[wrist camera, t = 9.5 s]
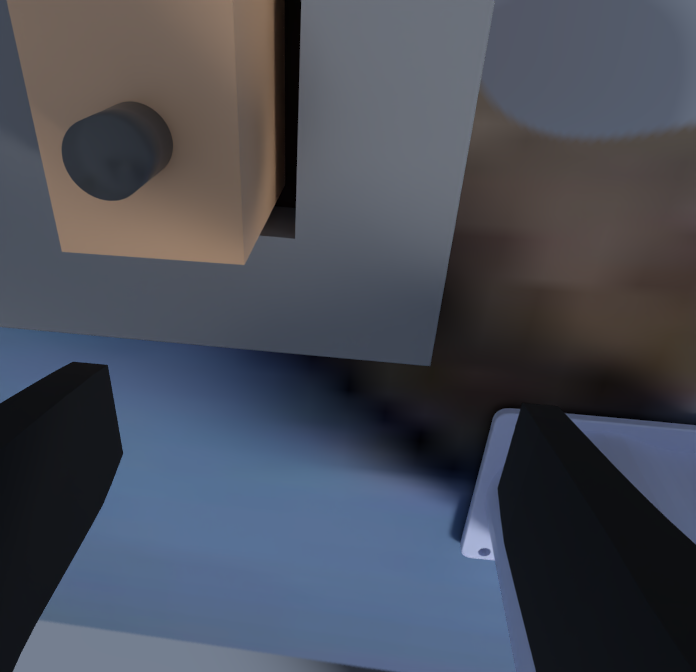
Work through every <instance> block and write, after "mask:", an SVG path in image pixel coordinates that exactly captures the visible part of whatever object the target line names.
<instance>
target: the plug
mask: <svg viewBox="0 0 696 672" xmlns="http://www.w3.org/2000/svg"><path fill="white" fill-rule="evenodd" d="M7 5H8V9H9V14H10V18H11V23H12V27H13V32H14V36H15V41H16V45H17V50H18V54H19V59H20V64H21V68H22V73H23V77H24V82H25V86H26V91H27V95H28V100H29V104H30V109H31V113H32V118H33V123H34V127H35V132H36V136H37V141H38V145H39V150H40V154H41V159H42V163H43V168H44V172H45V177H46V182H47V186H48V191H49V195H50V200H51V204H52V209H53V213H54V218H55V222H56V227H57V231H58V236H59V241H60V245H61V250H62V252H71V253H85V254H99V255H113V256H127V257H141V258H155V259H169V260H183V261H197V262H210V263H224V264H238V265H245V263H246V261H247V259H248V257H249V255H250V253H251V251H252V249H253V247H254V245H255V243H256V241H257V239H258V237H259V235H260V233H261V231H262V229H263V227H264V225H265V223H266V221H267V219H268V217H269V215H270V214H271V212H272V210H273V208H274V206H275V204H276V202H277V200H278V198H279V196H280V194H281V192H282V190H283V188H284V186H285V0H7Z"/></svg>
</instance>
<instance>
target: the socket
mask: <svg viewBox="0 0 696 672" xmlns="http://www.w3.org/2000/svg"><path fill="white" fill-rule="evenodd" d="M494 3H495V0H301V33H300V71H299V109H298V147H297V185H296V208H290V207H279V206H274V208H273V210H272V212H271V214H270V215H269V217H268V219H267V221H266V223H265V225H264V227H263V229H262V231H261V233H260V235H259V237H258V239H257V241H256V243H255V245H254V247H253V249H252V251H251V253H250V255H249V257H248V259H247V261H246V263H245V265H238V264H224V263H210V262H197V261H183V260H169V259H155V258H141V257H127V256H113V255H99V254H85V253H71V252H62V250H61V245H60V241H59V236H58V231H57V227H56V222H55V218H54V213H53V209H52V204H51V200H50V195H49V191H48V186H47V182H46V177H45V172H44V168H43V163H42V159H41V154H40V150H39V145H38V141H37V136H36V132H35V127H34V123H33V118H32V113H31V109H30V104H29V100H28V95H27V91H26V86H25V82H24V77H23V73H22V68H21V64H20V59H19V54H18V50H17V45H16V41H15V36H14V32H13V27H12V23H11V18H10V14H9V9H8V5H7V0H0V327H7V328H18V329H29V330H40V331H51V332H62V333H73V334H84V335H94V336H105V337H116V338H127V339H138V340H149V341H160V342H171V343H182V344H193V345H204V346H215V347H226V348H237V349H248V350H259V351H270V352H281V353H292V354H302V355H313V356H324V357H335V358H346V359H357V360H368V361H379V362H390V363H401V364H412V365H423V366H430V364H431V358H432V353H433V347H434V341H435V336H436V330H437V325H438V319H439V313H440V308H441V302H442V296H443V291H444V285H445V279H446V274H447V268H448V262H449V257H450V251H451V246H452V240H453V234H454V229H455V223H456V217H457V212H458V206H459V200H460V195H461V189H462V183H463V178H464V172H465V166H466V161H467V155H468V150H469V144H470V138H471V133H472V127H473V121H474V116H475V110H476V104H477V99H478V93H479V87H480V82H481V76H482V71H483V65H484V59H485V53H486V48H487V42H488V36H489V31H490V25H491V19H492V14H493V8H494Z"/></svg>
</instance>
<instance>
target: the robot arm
mask: <svg viewBox="0 0 696 672" xmlns="http://www.w3.org/2000/svg"><path fill="white" fill-rule="evenodd" d="M122 455H123V450H122V444H121V439H120V433H119V427H118V421H117V416H116V410H115V404H114V398H113V393H112V387H111V381H110V375H109V370H108V365H102V364H91V363H80V362H72V363H70V364H68V365H66V366H64V367H62V368H60V369H58V370H56V371H55V372H53V373H51V374H49V375H48V376H46V377H44V378H42V379H41V380H39V381H37V382H36V383H34V384H32V385H30V386H29V387H27V388H25V389H24V390H22V391H20V392H19V393H17V394H15V395H14V396H12V397H10V398H9V399H7V400H5V401H4V402H2V403H0V672H13V670H14V667H15V665H16V663H17V661H18V658H19V656H20V654H21V652H22V650H23V648H24V646H25V644H26V642H27V640H28V638H29V636H30V635H31V632H32V630H33V629H34V627H35V625H36V623H37V621H38V619H39V618H40V616H41V614H42V612H43V611H44V609H45V607H46V605H47V604H48V602H49V600H50V598H51V597H52V595H53V593H54V591H55V589H56V588H57V586H58V584H59V582H60V581H61V579H62V577H63V575H64V574H65V572H66V570H67V568H68V566H69V565H70V563H71V561H72V559H73V558H74V556H75V554H76V552H77V551H78V549H79V547H80V545H81V543H82V542H83V540H84V538H85V536H86V534H87V533H88V531H89V529H90V527H91V525H92V524H93V522H94V520H95V518H96V516H97V515H98V513H99V511H100V509H101V507H102V505H103V503H104V501H105V498H106V496H107V493H108V491H109V489H110V486H111V484H112V481H113V479H114V476H115V474H116V471H117V468H118V466H119V463H120V460H121V458H122ZM460 547H461V552H462V554H463V555H464V556H466V557H469V558H477V559H488V560H495V564H496V569H497V574H498V579H499V584H500V590H501V595H502V600H503V605H504V610H505V616H506V621H507V626H508V631H509V637H510V642H511V647H512V652H513V657H514V663H515V668H516V672H696V425H688V424H677V423H666V422H656V421H645V420H634V419H623V418H612V417H601V416H590V415H579V414H568V413H564V412H563V411H562V410H561V409H560V408H559V407H558V406H548V405H538V404H527V403H522V405H521V409H514V408H504V409H501V410H499V411H498V412H496V413H495V415H494V417H493V420H492V423H491V427H490V431H489V435H488V439H487V443H486V446H485V450H484V454H483V458H482V462H481V466H480V469H479V473H478V477H477V481H476V485H475V489H474V493H473V496H472V500H471V504H470V508H469V512H468V516H467V519H466V523H465V527H464V531H463V535H462V539H461V542H460ZM482 548H483V549H482Z"/></svg>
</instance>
